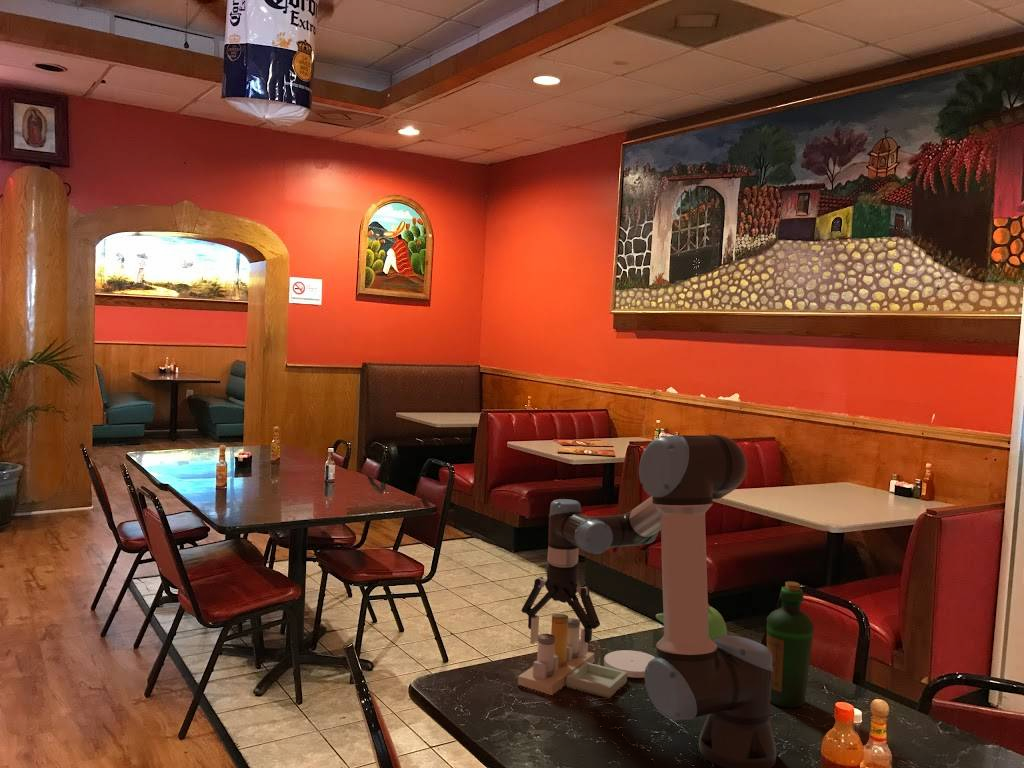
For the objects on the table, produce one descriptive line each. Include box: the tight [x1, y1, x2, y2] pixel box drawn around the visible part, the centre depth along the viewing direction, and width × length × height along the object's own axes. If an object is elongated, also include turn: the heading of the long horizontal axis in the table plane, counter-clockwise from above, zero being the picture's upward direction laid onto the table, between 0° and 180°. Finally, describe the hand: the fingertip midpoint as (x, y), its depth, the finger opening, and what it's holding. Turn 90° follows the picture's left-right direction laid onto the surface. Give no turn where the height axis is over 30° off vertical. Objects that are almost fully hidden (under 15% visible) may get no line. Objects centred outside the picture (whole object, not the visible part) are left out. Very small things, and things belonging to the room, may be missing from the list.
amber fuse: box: [550, 613, 569, 668], centre depth 207 cm, size 4×4×12 cm
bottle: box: [766, 581, 815, 709], centre depth 196 cm, size 11×11×28 cm
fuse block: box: [517, 617, 596, 696], centre depth 207 cm, size 24×9×12 cm, turn 150°
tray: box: [565, 662, 628, 699], centre depth 202 cm, size 11×11×2 cm
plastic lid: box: [603, 649, 656, 679], centre depth 213 cm, size 14×14×2 cm
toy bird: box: [655, 604, 728, 642], centre depth 223 cm, size 18×17×15 cm
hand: (558, 648), depth 207 cm, fingers open, 13 cm apart
